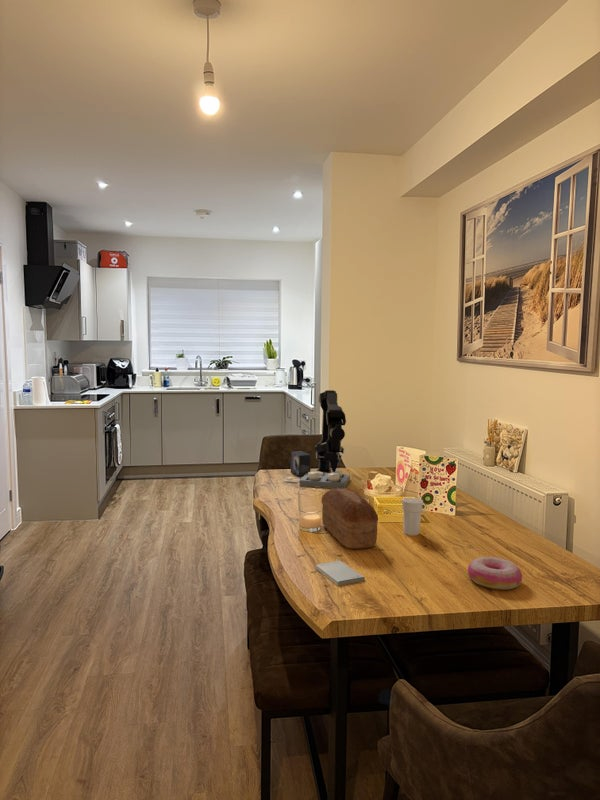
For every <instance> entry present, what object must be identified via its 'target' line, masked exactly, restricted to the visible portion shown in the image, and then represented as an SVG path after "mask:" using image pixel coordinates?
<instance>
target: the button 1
mask: <svg viewBox="0 0 600 800" xmlns="http://www.w3.org/2000/svg"><path fill="white" fill-rule="evenodd" d="M319 472H320V471H310V472H308V480H314V481H318V480H319Z"/></svg>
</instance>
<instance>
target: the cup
mask: <svg viewBox="0 0 600 800" xmlns="http://www.w3.org/2000/svg"><path fill="white" fill-rule="evenodd" d="M423 503H424V500H423V499H420V498H416V497H404V498H402V505H401V506H402V511H403V534H404V535H407V536H418V535H420V529H421V519H422V518H421V517H422V511H423V505H424V504H423Z"/></svg>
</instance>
